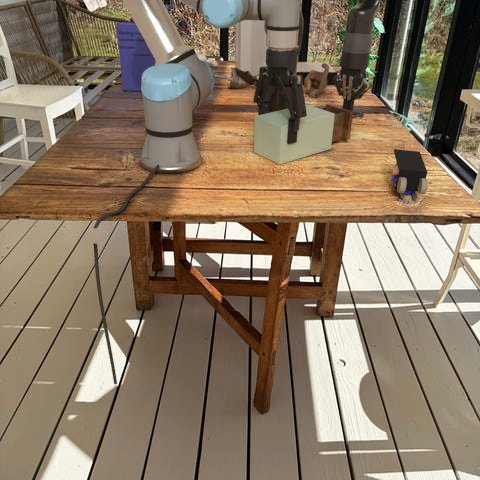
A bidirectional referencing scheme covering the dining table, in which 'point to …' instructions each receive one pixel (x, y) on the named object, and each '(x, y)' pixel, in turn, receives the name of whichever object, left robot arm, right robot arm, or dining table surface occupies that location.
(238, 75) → the figurine
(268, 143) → the pale green rectangular box
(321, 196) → the dining table surface
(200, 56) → the toy
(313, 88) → the anatomical model
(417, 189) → the figurine character
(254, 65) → the tall white carton
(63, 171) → the dining table surface
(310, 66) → the disc drive
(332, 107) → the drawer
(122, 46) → the cereal box
